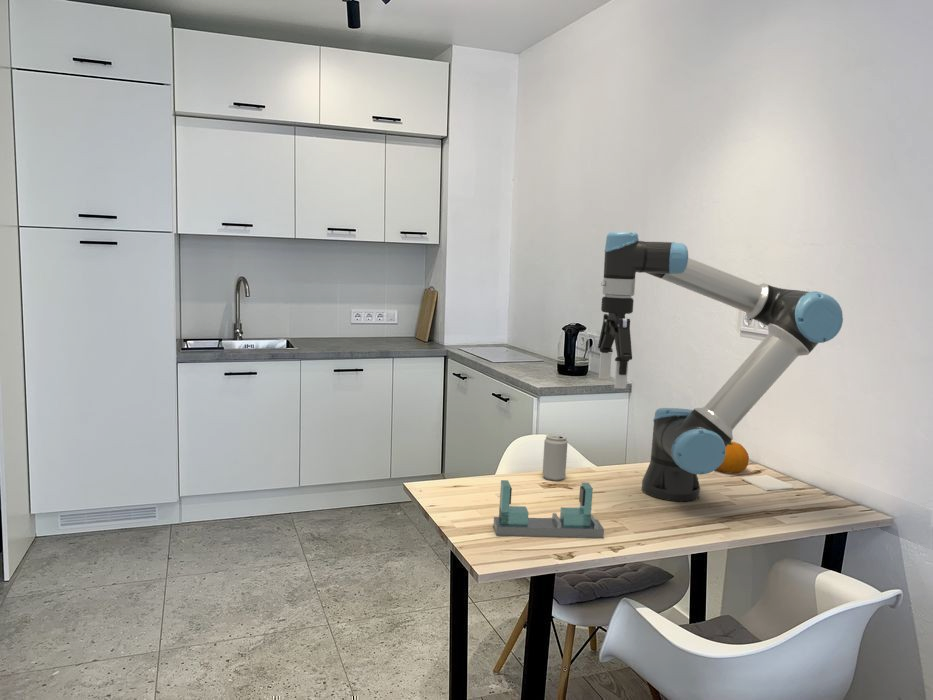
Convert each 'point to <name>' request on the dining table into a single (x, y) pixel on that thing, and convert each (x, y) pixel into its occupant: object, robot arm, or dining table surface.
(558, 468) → the beverage can
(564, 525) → the teal block
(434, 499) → the dining table surface
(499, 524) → the rail
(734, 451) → the fruit
